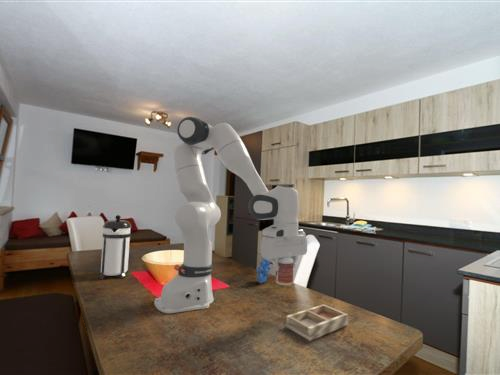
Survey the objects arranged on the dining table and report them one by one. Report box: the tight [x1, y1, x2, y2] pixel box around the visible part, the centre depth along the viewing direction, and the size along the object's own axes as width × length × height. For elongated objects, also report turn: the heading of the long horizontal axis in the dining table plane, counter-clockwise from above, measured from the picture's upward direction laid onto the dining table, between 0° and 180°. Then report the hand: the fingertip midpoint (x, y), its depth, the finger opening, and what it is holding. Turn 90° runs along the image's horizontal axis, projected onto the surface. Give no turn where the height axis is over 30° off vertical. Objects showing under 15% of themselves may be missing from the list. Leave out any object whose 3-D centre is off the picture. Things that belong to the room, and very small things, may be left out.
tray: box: [285, 304, 349, 342], centre depth 87 cm, size 19×10×4 cm, turn 127°
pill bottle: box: [275, 252, 294, 286], centre depth 94 cm, size 6×6×11 cm
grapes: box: [256, 258, 272, 284], centre depth 131 cm, size 12×7×12 cm, turn 148°
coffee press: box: [98, 214, 132, 280], centre depth 133 cm, size 17×16×30 cm
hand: (284, 269), depth 94 cm, fingers closed on pill bottle, 6 cm apart
